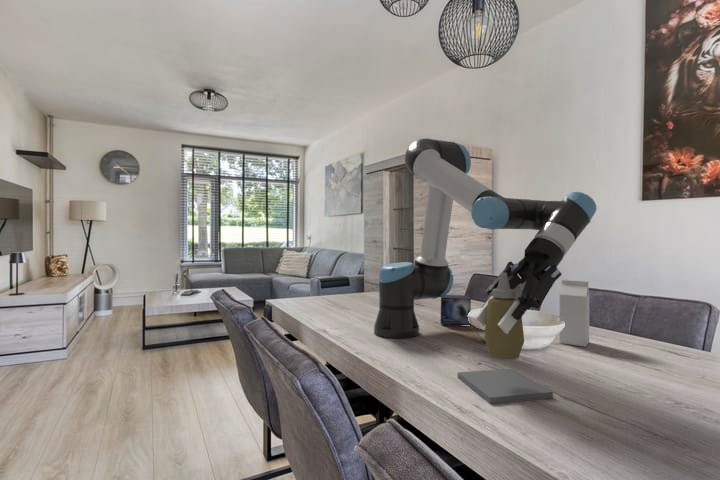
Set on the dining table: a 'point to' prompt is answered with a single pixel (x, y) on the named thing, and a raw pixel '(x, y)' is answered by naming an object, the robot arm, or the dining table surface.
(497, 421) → the dining table surface
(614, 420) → the dining table surface
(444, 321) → the small box
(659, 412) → the dining table surface
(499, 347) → the squeeze bottle
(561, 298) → the milk carton
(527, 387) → the slate trivet
